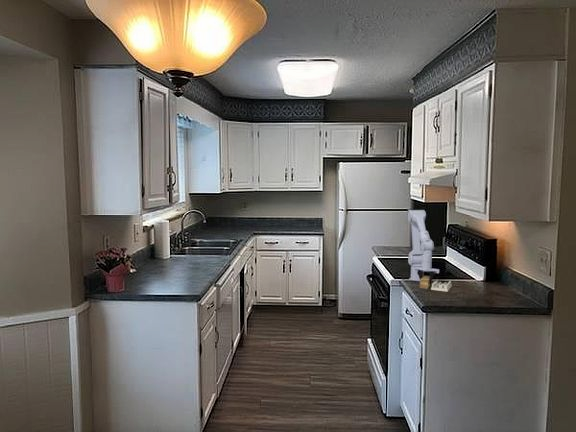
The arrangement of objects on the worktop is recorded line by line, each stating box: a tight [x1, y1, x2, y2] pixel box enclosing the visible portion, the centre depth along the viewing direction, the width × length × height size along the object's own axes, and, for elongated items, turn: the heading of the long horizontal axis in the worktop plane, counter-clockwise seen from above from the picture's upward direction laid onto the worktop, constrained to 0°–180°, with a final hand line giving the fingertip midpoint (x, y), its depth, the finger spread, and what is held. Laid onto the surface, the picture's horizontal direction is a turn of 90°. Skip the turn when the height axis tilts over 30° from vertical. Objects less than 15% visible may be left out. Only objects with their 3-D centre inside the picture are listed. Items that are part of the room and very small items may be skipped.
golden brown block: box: [419, 275, 433, 290], centre depth 267 cm, size 12×4×5 cm, turn 150°
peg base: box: [430, 278, 453, 293], centre depth 263 cm, size 14×9×3 cm, turn 150°
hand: (426, 283), depth 267 cm, fingers closed on golden brown block, 4 cm apart
